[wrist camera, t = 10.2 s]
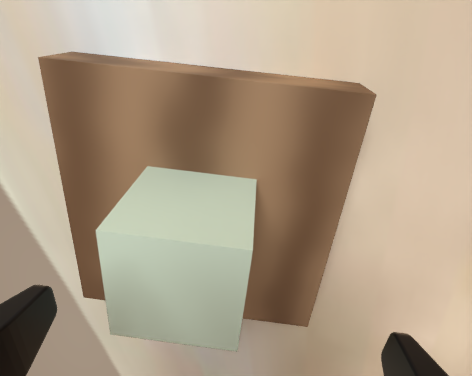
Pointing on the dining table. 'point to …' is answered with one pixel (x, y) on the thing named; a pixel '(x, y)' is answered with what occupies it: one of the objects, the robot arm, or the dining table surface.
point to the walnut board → (211, 157)
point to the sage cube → (179, 257)
